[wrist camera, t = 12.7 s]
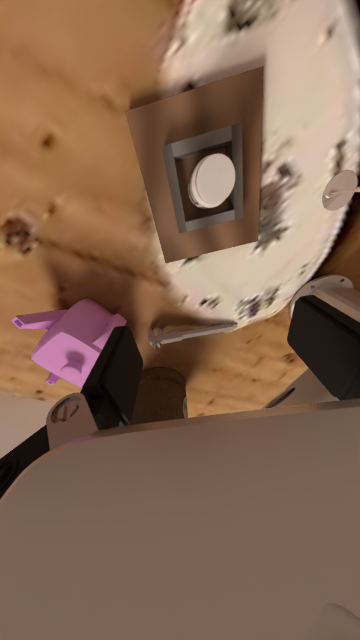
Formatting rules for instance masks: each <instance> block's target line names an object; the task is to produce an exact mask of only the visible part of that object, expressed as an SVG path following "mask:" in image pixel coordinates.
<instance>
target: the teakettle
mask: <svg viewBox="0 0 360 640" xmlns="http://www.w3.org/2000/svg"><path fill="white" fill-rule="evenodd" d="M11 322H13V323H14V324H15V325H16V326H17V327H18V328H20V329H48V331H47V332H46V333H45V334H44V335H43V337H42V338H41V340H40V341H39V343H38V345H37V346H36V348H35V350H34V352H33V354H32V356H31V359H32V360H33V361H34V362H36V363H37V364H39V365H40V366H42V367H43V368H45V369H47V370H48V371H50V372H51V373H50V375H49V377H48V379H47V380H46V383H48V384H50V385H53V384H55V383H56V382H57V381H58V380H59V379H60V378H63V379H65V380H67V381H69V382H71V383H73V384H75V385H77V386H80V387H82V386H83V385H84V383H85V381H86V379H87V377H88V375H89V373H90V371H91V370H92V368H93V366H94V364H95V362H96V360H97V358H98V356H99V355H100V353H101V351H102V349H103V347H104V345H105V343H106V341H107V340H108V338H109V336H110V334H111V332H112V330H113V328H114V327H118V326H125V324H126V322H127V321H126V320H125V319H124V318H123V317H122V316H121V315H120V314H119V313H118V314H116V315H113V314H112V313H110V312H109V311H108V310H106V309H105V308H104V307H102V306H101V305H99V304H98V303H96V302H95V301H93V300H91V299H88V298H86V299H83V300H81V301H79V302H77V303H76V304H75V305H73V306H72V307H71V308H70V309H68V310H66V309H64V310H56V311H49V312H41V313H34V314H26V315H18V316H15V317H14V318H13V319H12V320H11ZM126 328H127V327H126ZM82 388H83V387H82Z"/></svg>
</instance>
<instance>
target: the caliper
mask: <svg viewBox="0 0 360 640" xmlns="http://www.w3.org/2000/svg"><path fill="white" fill-rule="evenodd" d="M236 327H237V324H223V325H217V326H211V327H206V328H200V329H194V330H188V331H182V332H180V331H179V330H176V331H171V332H168V333H164V332H163V331H162V330H161V329H160V328H157V330H158V335H159V336H154V335H153V331H152V328H151V329H149V334H148V339H149V343H150V346H153V347H154V349H155V347H156V345H157V346H158V347H159V348H160V343H161V344H166V343H171V342H176V341H181V340H182V339H185V338H191V337H197V336H202V335H208V334H213V333H219V332H224V331H230V330H233V328H236Z"/></svg>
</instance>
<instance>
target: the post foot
mask: <svg viewBox="0 0 360 640" xmlns="http://www.w3.org/2000/svg"><path fill="white" fill-rule="evenodd" d="M262 98H263V66H262V67H259V68H256V69H253V70H250V71H247V72H244V73H241V74H238V75H235V76H232V77H229V78H226V79H223V80H220V81H217V82H213V83H210V84H207V85H204V86H201V87H198V88H195V89H192V90H189V91H186V92H183V93H180V94H177V95H174V96H171V97H168V98H165V99H162V100H159V101H156V102H153V103H149V104H146V105H143V106H140V107H137V108H134V109H131V110H128V111H125V112H126V116H127V120H128V123H129V127H130V131H131V135H132V138H133V142H134V146H135V150H136V153H137V157H138V161H139V165H140V168H141V172H142V176H143V180H144V183H145V187H146V191H147V195H148V199H149V202H150V206H151V210H152V214H153V217H154V221H155V225H156V229H157V232H158V236H159V240H160V244H161V247H162V251H163V255H164V259H165V262H166V263H169V262H173V261H177V260H181V259H185V258H190V257H194V256H198V255H202V254H206V253H210V252H214V251H219V250H223V249H227V248H231V247H235V246H239V245H243V244H247V243H252V242H256V241H258V229H259V196H260V164H261V131H262ZM216 153H220V154H224V155H226V156H227V157H228V158H229V159H230V160H231V161H232V163H233V165H234V168H235V183H234V187H233V189H232V191H231V193H230V194H229V196H228V197H227V198H226V199H225V200H224V201H223V202H222V203H221V204H220V205H218V206H216V207H213V208H199V207H197V206H195V205H194V204H193V203H192V202H191V200H190V198H189V195H188V183H189V179H190V177H191V175H192V173H193V171H194V169H195V167H196V166H197V164H198V163H199V162H200V161H201V160H202V159H203V158H205V157H206V156H209V155H212V154H216Z"/></svg>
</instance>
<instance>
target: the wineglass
mask: <svg viewBox="0 0 360 640" xmlns="http://www.w3.org/2000/svg"><path fill="white" fill-rule="evenodd" d="M354 192H360V187H357V176H356V174H355V173H354V172H353V171H348V170H347V171H343V172H341V173H339V174H337V175H336V176H335V177H334V178H333V179H331V181H330V182H329V183H328V185H327V186H326V188H325V191H324V193H323V198H322V200H323V205H324V207H325V208H326V209H327V210H332V211H333V210H337V209H339V208H341V207H343V206H344V205H345V204H346V203H347V202H348V201H349V200H350V199H351V197H352V196H353V194H354Z"/></svg>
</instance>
